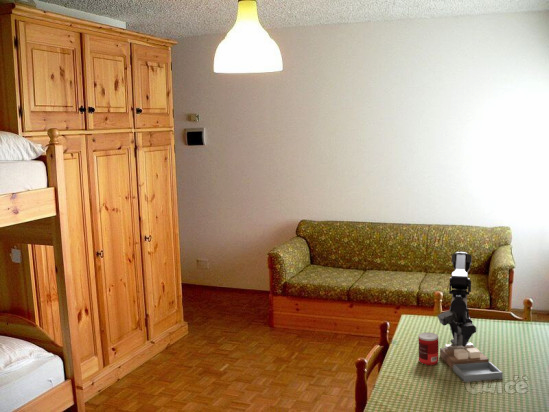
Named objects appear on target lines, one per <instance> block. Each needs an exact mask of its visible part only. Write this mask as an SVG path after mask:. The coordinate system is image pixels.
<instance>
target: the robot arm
mask: <svg viewBox="0 0 549 412" xmlns="http://www.w3.org/2000/svg"><path fill="white" fill-rule="evenodd" d="M472 261H473V257H472V254H469V253H468V252H465V251H456V252H455V253H452V254H451V265H452V266H453V267H452V268H453V270H454V271H452V272H451V276H450V277H449V287H448V288H449V289H448V291H449V293H448V294H450V295H451V302H450V306H449V310H447V311H444V312H441V313H439V314H438V315H437V318H438V320H439V323H440V324H441V325H442V326H447V325H449V329H450V332H451V335H452V338H453V339H450V342H452V344H454V332H459V333H460V334H461V339H462V346H463V347H465V346H466V344H467V343H470V342H469V341H470V339H471V337H472V336H473V335H474V334H475V333H477V327H476V326H475V325H474V324H473V321H472V317H470V313H469V311H470V309H469V308H468V296H469V295H470V293H471V292H472V280H471V279H470V277H469V272H470V270H471V266H472V264H473V262H472Z"/></svg>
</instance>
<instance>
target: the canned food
mask: <svg viewBox="0 0 549 412" xmlns="http://www.w3.org/2000/svg"><path fill="white" fill-rule="evenodd" d="M418 361H420V362H421V363H423V364H426V365H425V366H435V365H437V364H438V363H439V335H438V334H437V333H434V332H427V331H426V332H421V333H419V334H418ZM420 362H419V363H420ZM421 363H420V364H421ZM423 364H422V365H423Z"/></svg>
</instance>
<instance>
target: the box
mask: <svg viewBox="0 0 549 412" xmlns="http://www.w3.org/2000/svg"><path fill="white" fill-rule="evenodd" d="M452 371H453V373H454V374H456V376H457V377H459V379H460V380H461V381H462V382H463V383H467V382H477V381H478V382H482V381H491V380H492V381H493V380H501V379H502V380H503V374H504V372H503V371H502V370H500V369H499V368H498V367H497V366H496V365H495V364H493V363H492V362H491V361H489V362H478V363H467V364H455V365H453V369H452Z"/></svg>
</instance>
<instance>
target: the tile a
mask: <svg viewBox="0 0 549 412" xmlns="http://www.w3.org/2000/svg"><path fill="white" fill-rule="evenodd" d="M454 356H455V357H456V358H457V359H458V360H459V359H468V352H467V351H466V350H465V349H455V350H454Z"/></svg>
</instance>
